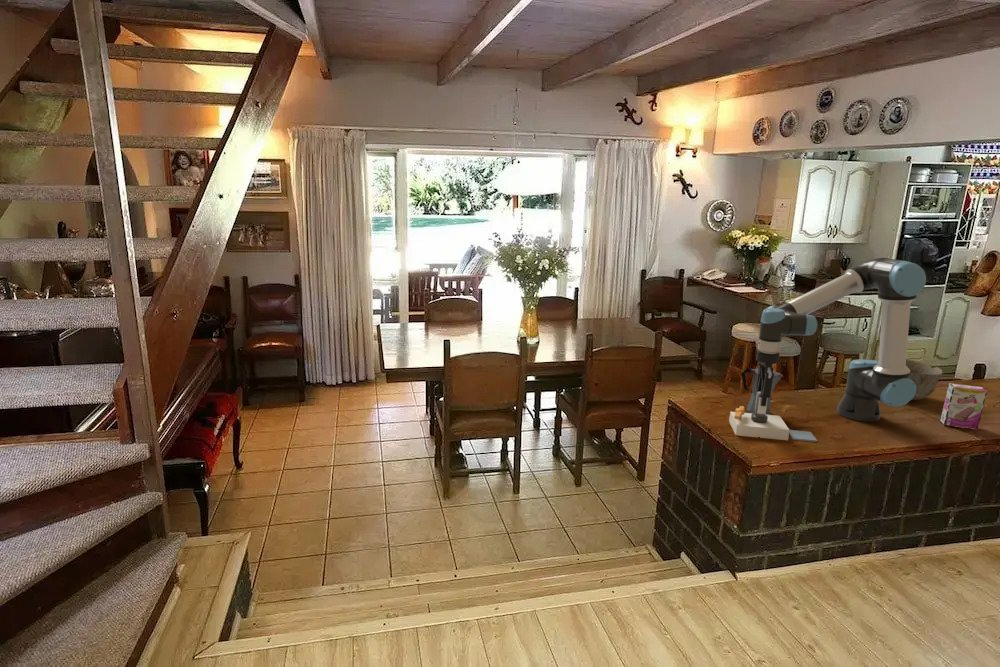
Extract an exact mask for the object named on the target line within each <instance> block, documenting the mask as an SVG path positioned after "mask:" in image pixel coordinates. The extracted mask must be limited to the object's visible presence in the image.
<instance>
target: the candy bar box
mask: <svg viewBox="0 0 1000 667" xmlns="http://www.w3.org/2000/svg"><path fill="white" fill-rule="evenodd" d="M987 394H988V390H987V389H985V388H984V387H982V386H977V385H968V384H967V385H965V384H958V383H951V382H949V383H948V387H947V391H946V395H945V400H944V404H943V407H942V412H941V415H940V421H941V422H942V423H943V424H944V425H950V426H959V427H968V428H975V429H977V430H979V429H978V428H979V425H980V421H981V418H982V413H983V410H984V405H985V401H986V398H987ZM940 421H939V422H940ZM941 422H940V423H941ZM942 423H941V424H942ZM943 424H942V425H943ZM944 425H943V426H944Z"/></svg>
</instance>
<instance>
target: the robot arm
mask: <svg viewBox="0 0 1000 667" xmlns="http://www.w3.org/2000/svg"><path fill="white" fill-rule="evenodd" d="M926 283H927V274H926V272H925V270H924V269H923V267H921V266H920V265H919V264H917V263H914V262H911V261H907V260H901V259H893V258H888V257H877V258H873V259H869V260H866V261H864V262H861V263H859V264H856V265H855V266H852V267H850V268H848V269H846V270H845V272H844V274H842V275H840V276H838V277H836V278H834V279H831V280H830V281H828V282H826V283H825V284H822V285H820V286H818V287H816V288H813V289H812V290H810V291H808V292H806V293H804V294H801V295H800V296H797V297H795V298H794V299H791V300H790V301H787V302H785V303H784V304H781V305H770V306H768V307H767V308H764V309H763V311H762V314H761V318H760V324H759V325H760V326H759V332H758V333H759V334H758V340H757V341H756V344H757V351H756V355H755V356H756V357H755V360H756V361H757V362H759V363H758V367H757V369H758V376H757V384H756V389H757V392H758V391H761V395H759V405H758V412H757V413H758V414H766V408H767V401H768V398H770V393H771V387H772V380H773V377H774V373H772V372H773V371H774V367H773V365H774V364H777V363H779V360H780V352H781V346H782V339H783V336H798V337H799V336H800V337H801V336H802V337H805V336H812V335H814V334H815V333H816V332H817V330H818V320H817V318H816V317H815V315H811V313H814V312H816V311H818V310H819V309H823V308H824V307H826V306H828V305H830V304H832V303H834V302H837V301H839V300H840V299H842V298H844V297H847V296H848V295H851V294H853V293H855V292H856V293H861V292H863V291H865V290H870V289H876V290H877V298H878V299H879V301H881V303H882V304H881V317H880V318H881V319H880V333H879V348H878V360H873V359H864V358H863V359H861V358H859V359H853V360H851V362H850V363H849V367H848V371H847V378H846V384H845V391H844V395H843V396H842V398H841V400H840V401H839V403H838V405H837V408H836V412H837V414H839V415H840V416H842V417H844V418H847V419H849V420H854V421H858V422H864V423H865V422H867V423H873V422H875V423H876V422H878V421H880V420H881V415H882V414H881V408H880V403H879V401H880V402H881V403H883V404H884V405H887V406H891V407H894V408H895V407H902V406H905V405H906V404H908V403H909V402H910V401H913V400H912V398H913V397H914V396H915V393H916V384H915V383H914V382H913V381H912V380H910V369H909V368H908V367H907V366H906V359H907V354H908V351H907V350H908V341H909V339H908V338H909V328H910V318H911V317H910V315H911V305H912V302H914V301H915V300H917V297H918V296H917V295H919V294H921V292H922V290H923V289H924V288H925V286H926ZM756 400H757V397H756ZM755 407H756V405H755Z"/></svg>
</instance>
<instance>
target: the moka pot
mask: <svg viewBox="0 0 1000 667" xmlns="http://www.w3.org/2000/svg"><path fill="white" fill-rule="evenodd" d="M747 373H749V374H750V375H751V374H752V386H751V387H752V390H751V388H749V387H747V386H748V385H747V378H746V374H747ZM772 373H774V377H773V380H772V387H771V393H770V398H768V401H767V408H766V414H765V415H771V414H770V413H771V402H772V400H773V398H772V395H773V392H774V390H775V388H776V385H777V384H778V382H779V381H780V380H781V379H782V378H784V375H783V374H781V373H780V372H776V370H773V372H772ZM757 376H758V368H749V367H747V368H746V369H744V370H743V371H742V372H741V380H742V384H743V389H744V390H745V391H752V393H751V395H750V398H749V401H748V404H747V407H746V410H745V411H747V412H748V413H755V405H756V397H757V389H756V384H757Z"/></svg>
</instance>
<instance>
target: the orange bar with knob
mask: <svg viewBox="0 0 1000 667" xmlns="http://www.w3.org/2000/svg"><path fill="white" fill-rule="evenodd" d="M745 407H746V406H743V405H740V406H739V407H736V408H735V411H734V412H735V413H736V414H735V417H734V419H738V420H739V418H740V417H741V415H744V413H746V410H745Z"/></svg>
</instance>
